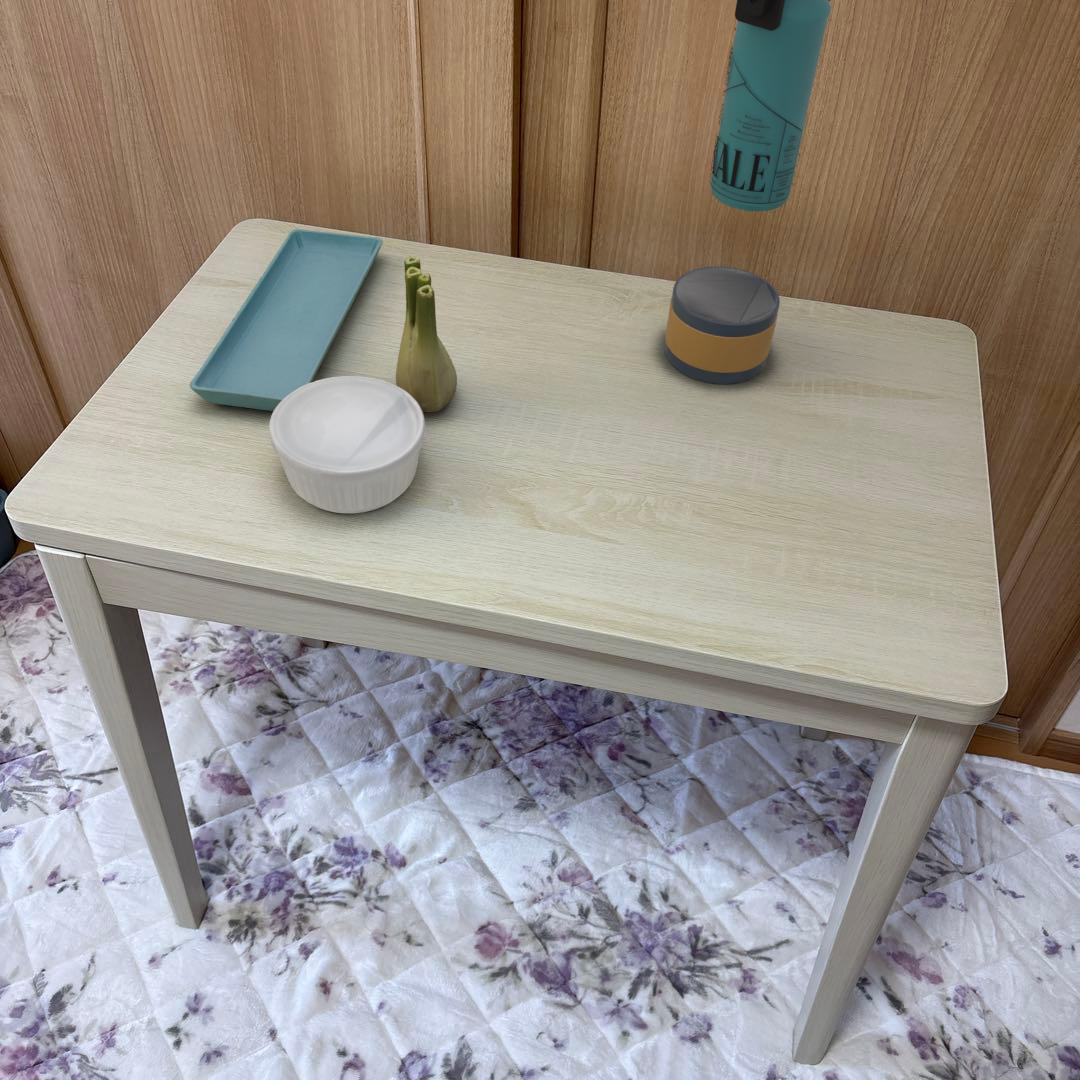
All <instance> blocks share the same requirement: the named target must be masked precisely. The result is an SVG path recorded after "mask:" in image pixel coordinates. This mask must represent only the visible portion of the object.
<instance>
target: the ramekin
mask: <svg viewBox="0 0 1080 1080" xmlns="http://www.w3.org/2000/svg"><path fill="white" fill-rule="evenodd" d="M268 429H269V430H268V431H269V436H270V442H271V446H272V448H273V451H274V452H275V454H276V456H277V457H278V458H279V460H280V463H281V466H282V468H283V471H284V473H285V476H286V478H287V481H288V483H289V484H290V486H291V488H292V489H293V491H294V492H295V494H297V495H298V496H299V497H300V499H302V500H304V501H305V502H306V503H308V504H310V505H312V506H314V507H316V508H318V509H321V510H324V511H326V512H331V513H336V514H361V513H366V512H370V511H374V510H377V509H381V508H382V507H385V506H387V505H389V504H391V503H392V502H394V501H395V500H397V498H399V497H400V496H402V494H403V493H404V492H406V491H407V489H408V488H409V487H410V486H411V484H412V482H413V480H414V478H415V475H416V473H417V468H418V462H419V457H420V451H421V448H422V445H423V443H424V440H425V434H426V420H425V415H424V411H422V410H421V408H420V406H419V404H418V403H417V401H416V400H415V399H414V398H413V397H412V396H411V395H410V394H409V393H407V392H406V391H405V390H403V389H401V388H400V387H398V386H397V385H396V384H394V383H392V382H389V381H386V380H383V379H379V378H375V377H371V376H363V375H339V376H331V377H326V378H322V379H319V380H315V381H314V380H313V381H312V382H311V383H309V384H306V385H304V386H301V387H299V388H298V389H296V390H295V391H293V392H291V393H290V394H289V395H288V396H286V397H285V398H284V399H283V400H282V401H281V402H280V403H279V404H278V405H277V407H276V408H275V410H274V411H272V414H271V416H270V420H269V424H268Z"/></svg>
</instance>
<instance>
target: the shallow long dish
mask: <svg viewBox="0 0 1080 1080" xmlns="http://www.w3.org/2000/svg"><path fill="white" fill-rule="evenodd" d="M383 243H384V241H383V239H382V238H380V237H375V236H374V237H373V236H365V235H355V234H346V233H337V232H329V231H328V232H327V231H319V230H310V229H309V230H308V229H302V228H300V229H299V228H297V229H296V228H295V229H292V230H291V231H290V232H289V233H288V235H287V236H286V238H285V240H284V242H282V244H281V246H280V248H278V250H277V251H276V254H275V255H274V257H273V259H272V260H271V262H270V263H269V265H268V266H267V268H266V269H265V271H264V272H263V274H262V275H261V277H260V278H259V280H258V281H257V283H256V284H255V286H254V287H253V289H252V290H251V292H250V293H249V295H248V296H247V298H246V299H245V301H244V302H243V303H242V305H241V307H240V308H239V310H238V311H237V313H236V314H235V316H234V317H233V319H232V320H231V322H230V324H229V325H228V327H226V330H225V331H224V333H223V334H222V336H221V337H220V339H219V341H218V342H216V344H215V346H214V348H213V349H212V351H211V352H210V354H209V355H208V357H207V358H206V360H205V361H204V363H203V364H202V365H201V368H200V369H199V370H198V371H197V373H196V374H195V376H194V377H193V379H192V380H191V381H190V382H189V387H190V389H191V391H193V392H194V393H195V394H197V395H198V396H199V397H201V398H202V399H204V400H205V401H206V402H207V403H210V404H215V405H221V406H222V405H224V406H233V407H237V408H238V407H239V408H246V409H255V410H262V411H270V412H274V410H275V408H276V407H277V405H278V404H279V403H280V402H281V401H282V400H283V399H284V398H285V397H286V396H288V395H289V394H290V393H291V392H293V391H295V390H296V389H298V388H299V387H301V386H304V385H306V384H309V383H311V382H314V379H315V377H316V375H317V373H318V372H319V370H320V367H321V366H322V364H323V362H324V360H325V358H326V356H327V354H328V352H329V351H330V349H331V346H332V344H333V342H334V341H335V338H336V336H337V335H338V333H339V331H340V329H341V327H342V325H343V323H344V322H345V319H346V318H347V315H348V313H349V311H350V309H351V308H352V305H353V303H354V302H355V300H356V298H357V295H358V294H359V292H360V290H361V288H362V286H363V284H364V282H365V280H366V278H367V277H368V274H369V272H370V271H371V269H372V267H373V265H374V263H375V261H376V259H377V257H378V254H379V252H380V250H381V248H382V245H383Z"/></svg>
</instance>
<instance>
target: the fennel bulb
mask: <svg viewBox="0 0 1080 1080" xmlns="http://www.w3.org/2000/svg"><path fill="white" fill-rule="evenodd" d="M403 265H404V281H405V282H404V284H405V321H404V327H403V330H402V331H403V332H402V335H401V340H400V346H399V350H398V355H397V362H396V372H395V385H396V386H398V387H400V388H401V389H403V390H405V391H406V392H407V393H409V394H410V395H411V396H412V397H413V398H414V399H415V400H416V401H417V403H418V404H419V406H420V408H421V410H422V412H423V413H424V412H425V413H435V412H438V411H440V410H441V409H442V408H443V407H444V406H445V407H446V405H448V404H449V403H450V401H452V399H453V398H454V396H455V393H456V392H457V385H458V375H457V370H456V368H455V366H454V363H453V361H452V358H451V356H450V354H449V353H448V350H447V349H446V347H445V345H444V344H443V341H442V340H441V339H440V337H439V336H438V330H437V315H436V297H435V290H434V288H433V287H432V277H431V275H430V273H428V272H425V273H423V272H422V269H421V268H422V267H421V259H420V258H419V257H417V256H414V255H409V256H407V257H405V260H404V261H403Z"/></svg>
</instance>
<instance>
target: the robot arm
mask: <svg viewBox="0 0 1080 1080" xmlns="http://www.w3.org/2000/svg"><path fill="white" fill-rule="evenodd" d="M828 1H829V2H830V1H831V0H828ZM784 3H785V0H736V5H735V11H734V17H735V20H736V21H740V22H743V23H746V24H750V25H753V26H756V27H759V28H763V29H766V30H769V31H773V30H775V29H777V28H779V26H780V24H781V18H782V13H783V8H784Z"/></svg>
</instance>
